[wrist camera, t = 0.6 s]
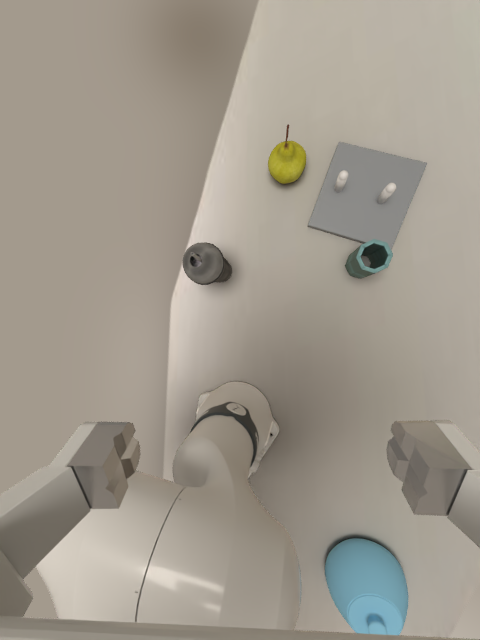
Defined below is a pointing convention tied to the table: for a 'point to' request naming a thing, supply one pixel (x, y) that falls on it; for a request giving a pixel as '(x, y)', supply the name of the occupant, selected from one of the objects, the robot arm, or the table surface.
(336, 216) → the pin board
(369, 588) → the sugar bowl
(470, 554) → the table surface
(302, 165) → the fruit
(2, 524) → the robot arm
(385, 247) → the sleeve
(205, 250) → the beverage cup
